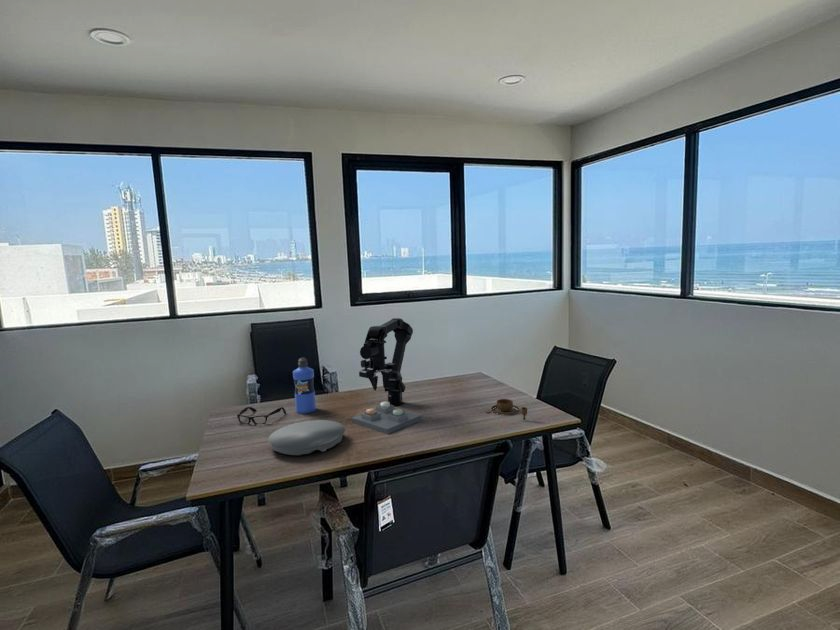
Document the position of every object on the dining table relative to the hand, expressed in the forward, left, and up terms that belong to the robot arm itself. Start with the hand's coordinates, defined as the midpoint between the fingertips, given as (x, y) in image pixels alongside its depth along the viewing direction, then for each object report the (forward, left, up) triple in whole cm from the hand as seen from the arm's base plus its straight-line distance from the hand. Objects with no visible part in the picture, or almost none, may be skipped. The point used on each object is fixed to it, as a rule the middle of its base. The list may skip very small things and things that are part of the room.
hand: (379, 388), depth 201 cm
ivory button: (+1, +4, -7) cm, 9 cm away
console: (+6, +10, -11) cm, 16 cm away
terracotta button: (+11, +6, -7) cm, 15 cm away
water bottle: (+19, -31, -11) cm, 38 cm away
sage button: (+5, +16, -8) cm, 18 cm away
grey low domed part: (+41, +4, -12) cm, 43 cm away
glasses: (+37, -39, -12) cm, 55 cm away
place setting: (-32, +45, -12) cm, 57 cm away
